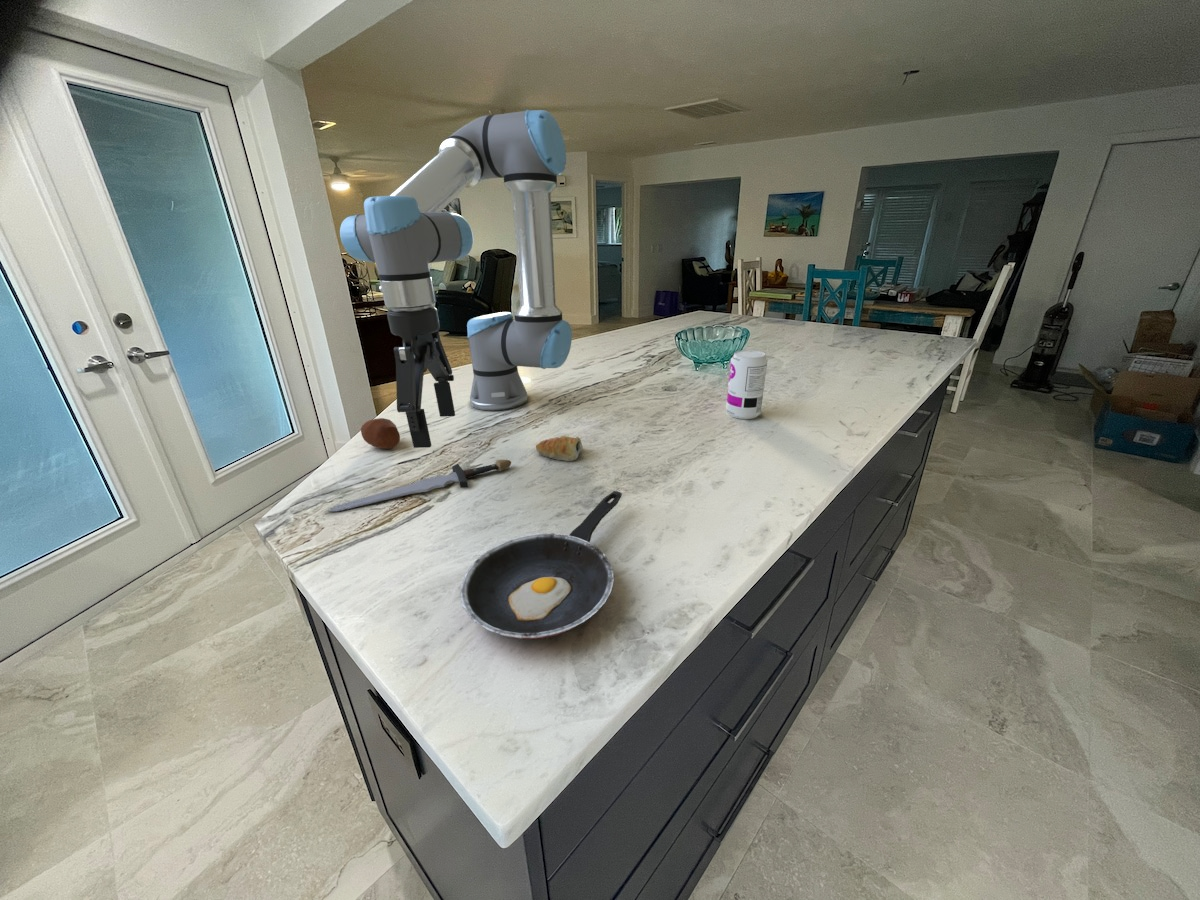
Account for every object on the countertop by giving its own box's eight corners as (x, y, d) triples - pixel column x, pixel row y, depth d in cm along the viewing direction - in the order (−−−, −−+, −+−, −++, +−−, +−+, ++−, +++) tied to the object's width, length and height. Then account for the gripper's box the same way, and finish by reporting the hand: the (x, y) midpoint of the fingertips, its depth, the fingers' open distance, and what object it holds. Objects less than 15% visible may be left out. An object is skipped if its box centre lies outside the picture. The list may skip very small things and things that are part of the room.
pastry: (532, 459, 95) (530, 442, 94) (542, 445, 101) (541, 429, 100) (576, 462, 93) (575, 445, 92) (584, 448, 99) (583, 432, 98)
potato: (376, 457, 98) (369, 428, 95) (359, 445, 104) (351, 418, 101) (408, 446, 102) (402, 419, 100) (389, 435, 108) (383, 409, 106)
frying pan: (430, 621, 56) (424, 597, 55) (570, 497, 81) (568, 478, 80) (563, 684, 48) (560, 658, 46) (672, 524, 73) (673, 504, 72)
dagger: (517, 472, 90) (516, 462, 89) (334, 530, 74) (330, 519, 73) (501, 458, 96) (499, 449, 95) (327, 510, 80) (324, 499, 79)
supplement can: (723, 417, 113) (729, 356, 107) (728, 406, 120) (734, 348, 113) (758, 421, 110) (766, 359, 104) (761, 410, 117) (769, 350, 111)
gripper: (416, 296, 85) (437, 405, 94) (349, 323, 63) (385, 463, 72) (457, 295, 85) (474, 404, 94) (404, 321, 62) (433, 462, 72)
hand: (436, 430), depth 83 cm, fingers open, 13 cm apart
